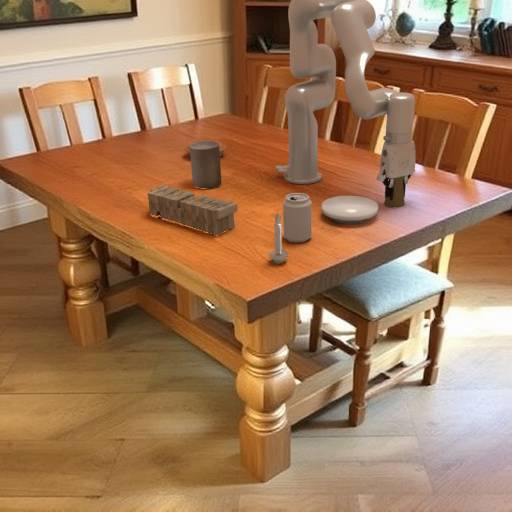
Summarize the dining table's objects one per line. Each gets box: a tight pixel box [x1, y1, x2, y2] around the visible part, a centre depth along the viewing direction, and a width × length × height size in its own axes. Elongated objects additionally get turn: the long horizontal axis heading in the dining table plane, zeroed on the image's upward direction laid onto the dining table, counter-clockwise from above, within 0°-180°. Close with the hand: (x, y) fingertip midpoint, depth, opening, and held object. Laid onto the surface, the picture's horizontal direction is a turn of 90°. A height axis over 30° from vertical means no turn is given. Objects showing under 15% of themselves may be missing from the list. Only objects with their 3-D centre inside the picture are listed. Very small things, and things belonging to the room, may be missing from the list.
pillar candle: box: [188, 140, 223, 189], centre depth 221 cm, size 10×10×15 cm
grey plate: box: [321, 195, 379, 225], centre depth 194 cm, size 16×16×4 cm
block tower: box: [147, 184, 238, 236], centre depth 194 cm, size 8×8×29 cm
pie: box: [184, 139, 227, 158], centre depth 253 cm, size 16×16×5 cm
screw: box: [268, 212, 289, 265], centre depth 167 cm, size 13×5×5 cm
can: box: [282, 192, 313, 244], centre depth 180 cm, size 8×8×12 cm
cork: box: [383, 176, 406, 209], centre depth 201 cm, size 6×6×11 cm
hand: (394, 196), depth 202 cm, fingers closed on cork, 3 cm apart
